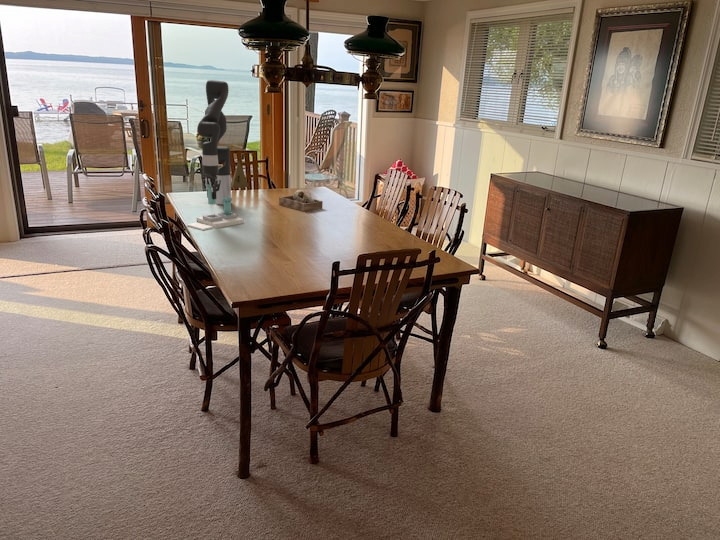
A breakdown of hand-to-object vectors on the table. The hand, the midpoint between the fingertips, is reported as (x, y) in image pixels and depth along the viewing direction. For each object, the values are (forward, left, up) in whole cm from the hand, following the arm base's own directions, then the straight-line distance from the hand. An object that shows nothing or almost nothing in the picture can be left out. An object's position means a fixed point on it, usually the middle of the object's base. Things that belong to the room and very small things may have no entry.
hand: (211, 198), depth 265 cm
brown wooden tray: (-4, +63, -13) cm, 64 cm away
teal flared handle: (0, +9, -11) cm, 14 cm away
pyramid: (-76, +71, -13) cm, 105 cm away
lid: (+2, -9, -13) cm, 16 cm away
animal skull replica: (-2, +64, -13) cm, 66 cm away
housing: (0, +5, -13) cm, 14 cm away
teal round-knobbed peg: (0, 0, -3) cm, 3 cm away
